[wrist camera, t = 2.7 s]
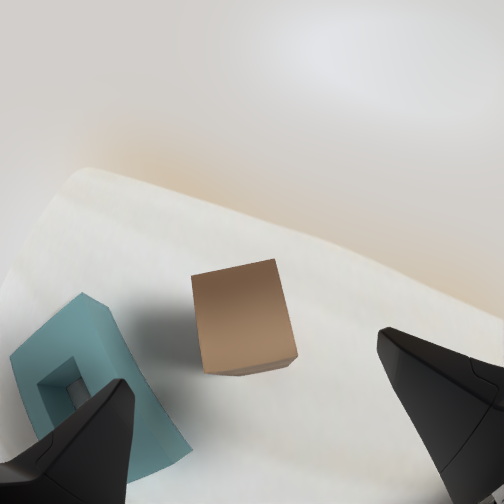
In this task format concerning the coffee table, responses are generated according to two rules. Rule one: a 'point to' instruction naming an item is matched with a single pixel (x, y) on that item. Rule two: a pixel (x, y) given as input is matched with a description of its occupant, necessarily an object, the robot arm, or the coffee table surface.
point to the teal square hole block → (92, 381)
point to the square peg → (243, 320)
